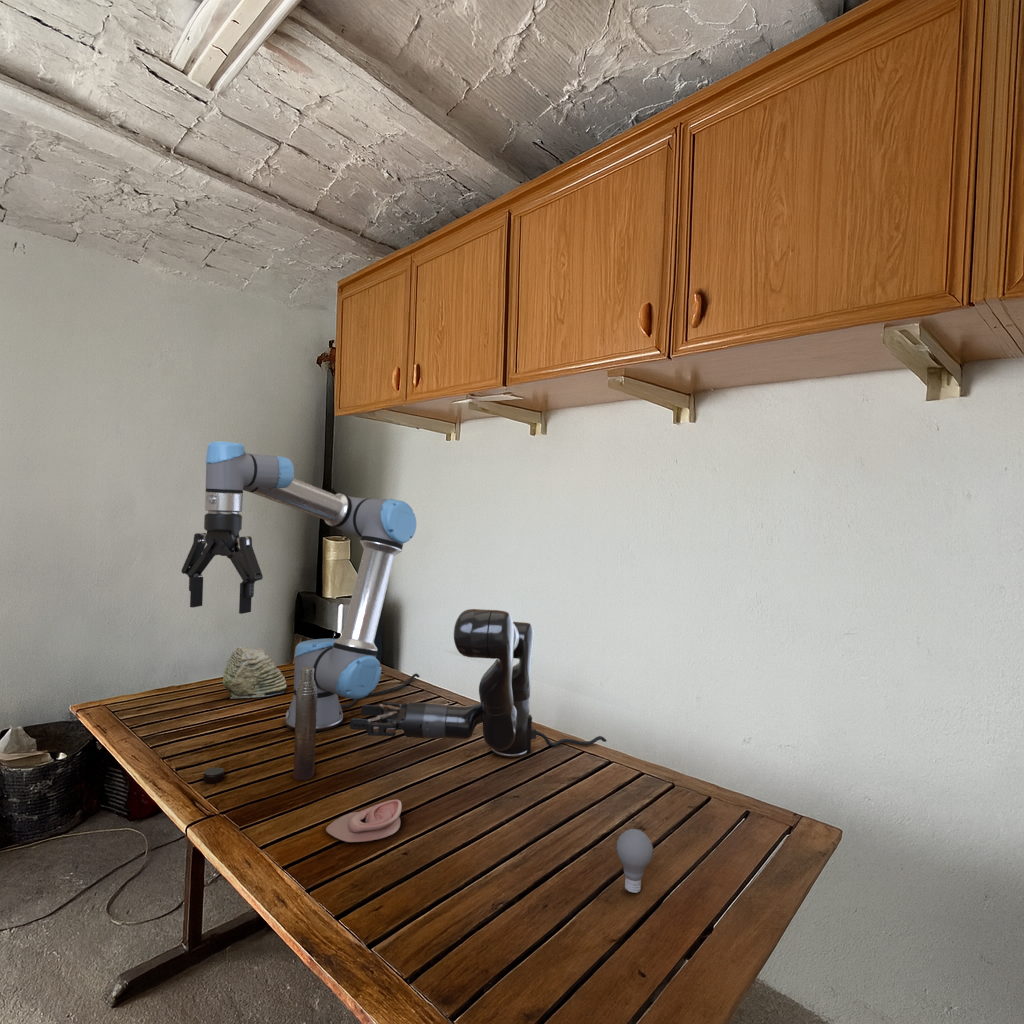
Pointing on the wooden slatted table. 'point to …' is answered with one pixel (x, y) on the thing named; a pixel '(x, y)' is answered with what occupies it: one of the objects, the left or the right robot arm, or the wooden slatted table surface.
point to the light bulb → (634, 857)
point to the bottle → (305, 726)
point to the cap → (213, 775)
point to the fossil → (252, 674)
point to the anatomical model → (368, 823)
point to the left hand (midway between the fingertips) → (220, 609)
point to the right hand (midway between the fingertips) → (356, 716)
